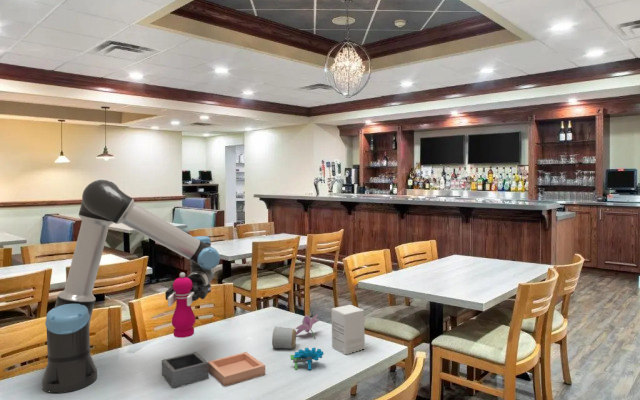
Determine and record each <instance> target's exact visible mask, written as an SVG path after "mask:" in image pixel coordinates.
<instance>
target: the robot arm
mask: <svg viewBox="0 0 640 400" xmlns="http://www.w3.org/2000/svg"><path fill="white" fill-rule="evenodd" d="M81 199H82V200H81V202H80V203H81V204H80V208H79V212H78V217H79V218H80V220H81V224H80V229H79V231H78V235H77V240H76V244H75V247H74V252H73V256H72V259H71V262H70V263H71V264H70V267H69V271H68V274H67V278H66V283H65V287H64V289H63V291H61V292H59V293H58V294H57V297H56V300H55V305H54V307H53V308H52V309H50V310H49V311H48V312H47V313H46V317H45V323H44V325H45V327H46V345H47V348H46V349H47V364H46V366H45V367H46V368H45V371H44V374H43V377H42V381H41V383H42V386H41V388H42V387H43V388H42V390H43V389H44V390H46V391H50V392H63V393H68V391H70V392H73V390H74V391H77V389H78V390H80V388H81V389H83V388H85V387H87V386H90V385H92V384H93V383H94V382H95V381H96V380H97V379H98V369H97V367H96V365H95V364H96V363H95V362H94V360H93V356H92V355H91V342H90V341H91V339H90V338H91V337H90V325H91V320H92V315H93V311H94V307H95V303H96V297H95V296H94V294H93V292H94V291H93V290H94V288H95V284H96V279H97V275H98V271H99V267H100V263H101V260H102V256H103V251H104V249H105V243H106V240H107V235H108V231H109V230H110V229H109V228H110V226H111V225H112V224H116V225H117V224H122V225H124V226H126V227H128V228H130V229H132V230H134V231H135V232H138V233H140V234H142V235H143V236H145V237H146V238H148V239H151V240H153V241H154V242H156V243H158V244H160V245H162V246H163V247H165V248H167V249H168V250H171V251H172V252H175V253H176V254H178V255H180V256H182V257H184V258H185V259H187V260H189V261H190V274H189V275H188V276H187V278H189V279H190V280H191V281H192V285H193V286H192V289H191V290H190V292H191V293H190V294H189V296H188V297H187V306H191V305H192V304H193V302H196V301H197V300H199V299H200V300H205V298H206V297H207V295H208V294H209V293H211V292H212V285H211V282H212V280H213V278H214V273H213V269H215V268H217V266H218V265H219V263H220V260H221V256H220V253H219V251H218V250H217V249H216V248H214V247H212V246H211V245H212V243H211V238H210V237H209V236H206V235H200V236H199V235H197V236H193V235H192V234H189V233H188V232H186V231H184V230H182V229H181V228H179V227H177V226H175V225H174V224H171V222H168V221H167V220H165V219H163V218H161V217H159V216H158V215H156V214H154V213H153V212H151V211H149V210H148V209H146V208H144V207H142V206H140V205H138V204H137V203H135V200H134V198H133V197H131V196H129V195H128V194H126V193H125V192H123V191H122V190H121V189H120V188H119V187H118V185H117V184H115V183H114V182H113V181H110V180H108V179H97V180H94V181H91V182H90V183H89V184H88V185H87V186H86V187H85V188H84V190H83V192H82V198H81ZM175 293H176V292H175V291H174V289H173V284H172V285H170V287H169V288H168V289H167V290H166V291H165V296H164V297H165V301H167V307H172V306H173V305H174V304H175V303H176V298H175ZM44 390H43V391H44ZM46 391H45V392H46ZM50 392H49V393H50Z"/></svg>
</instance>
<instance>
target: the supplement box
mask: <svg viewBox="0 0 640 400" xmlns="http://www.w3.org/2000/svg"><path fill="white" fill-rule="evenodd" d="M365 337H366V336H365V309H362V308H359V307H357V306H355V305H353V304H346V305H342V306H337V307H333V308H331V348H332V347H333V348H332V349H334V350H336V351H338V352H339V351H340V352H339V353H341V352H342V354H343V355H345V354H347V355H350V354H349V353H351V354H353V353H352V352H354V353H357V352H356V351H358V352H360V351H359V350H361V351H363V350H362V349H364V350H366V345H365V341H366V340H365V339H366V338H365Z"/></svg>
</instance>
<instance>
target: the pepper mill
mask: <svg viewBox="0 0 640 400" xmlns="http://www.w3.org/2000/svg"><path fill="white" fill-rule="evenodd" d="M187 277H188V276H187ZM187 277H186V273H185V272H182V271H181V272H180V273H179V277H178V278H175V280H174V281H173V283H172V285H173V289H174V291H175V292H176V293H175V298H176V301H175V304H176V305H175V309H174V312H173V315H172V316H171V317H172V318H171V325H172V326H173V328H174V329H173V337H174V338H179V339H184V338H188V337H192V336H193V335H195V327H194V325H195V323H196V315H195V313H194V311H193V308H192V306H191V305H190V306H187V297H188V296H189V294H190V293H191V292H190V290H191V289H192V286H193V285H192V281H191V280H190V279H189V278H187Z"/></svg>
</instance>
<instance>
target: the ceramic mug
mask: <svg viewBox="0 0 640 400" xmlns="http://www.w3.org/2000/svg"><path fill="white" fill-rule="evenodd" d="M296 332H297V329H296V328H292V327H284V326H283V327H282V326H274V328H273V331H272V336H271V337H272V339H271V346H272V348H273V349H293V348H295V346H296V343H297V335H296Z"/></svg>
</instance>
